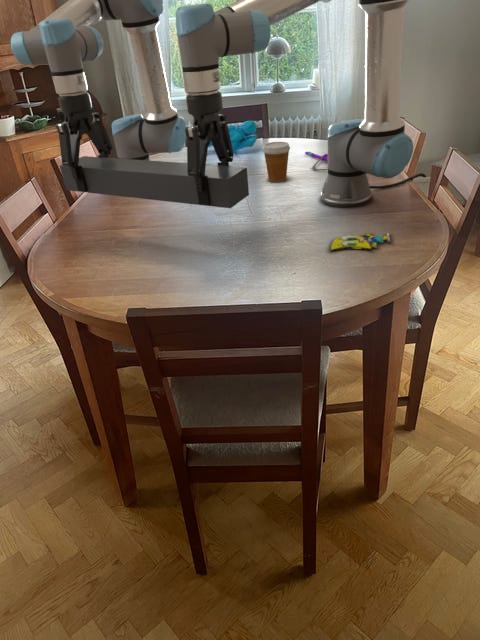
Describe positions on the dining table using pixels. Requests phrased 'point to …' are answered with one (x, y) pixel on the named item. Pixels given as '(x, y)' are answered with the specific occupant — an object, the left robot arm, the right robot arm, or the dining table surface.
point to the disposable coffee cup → (276, 160)
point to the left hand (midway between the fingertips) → (95, 184)
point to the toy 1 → (242, 135)
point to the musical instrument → (324, 158)
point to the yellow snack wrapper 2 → (358, 242)
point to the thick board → (159, 180)
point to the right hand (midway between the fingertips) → (215, 196)
